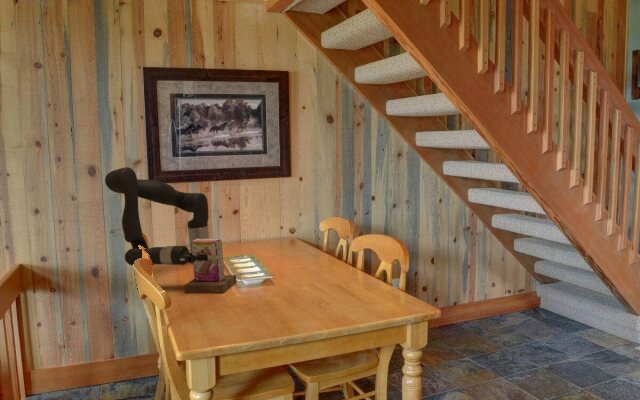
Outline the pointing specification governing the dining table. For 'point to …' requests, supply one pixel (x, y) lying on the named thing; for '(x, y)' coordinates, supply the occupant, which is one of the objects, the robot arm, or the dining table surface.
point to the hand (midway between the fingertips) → (212, 254)
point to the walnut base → (210, 285)
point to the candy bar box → (214, 265)
